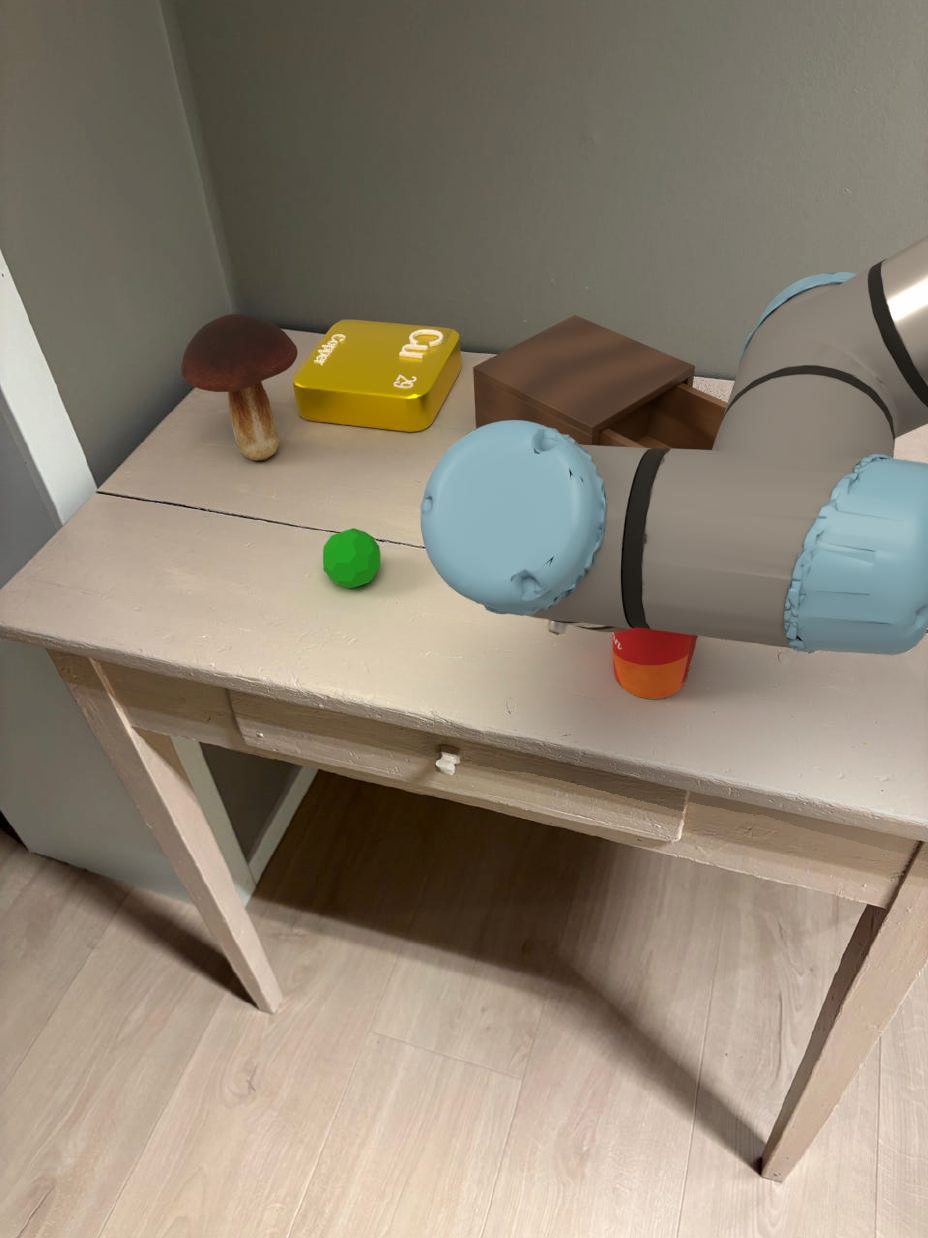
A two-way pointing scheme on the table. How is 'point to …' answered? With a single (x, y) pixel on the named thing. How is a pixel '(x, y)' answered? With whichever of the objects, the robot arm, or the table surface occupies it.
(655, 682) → the paper cup
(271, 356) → the decorative mushroom
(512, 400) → the cabinet
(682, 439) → the drawer
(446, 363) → the element tile
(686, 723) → the table surface
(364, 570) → the polyhedron
